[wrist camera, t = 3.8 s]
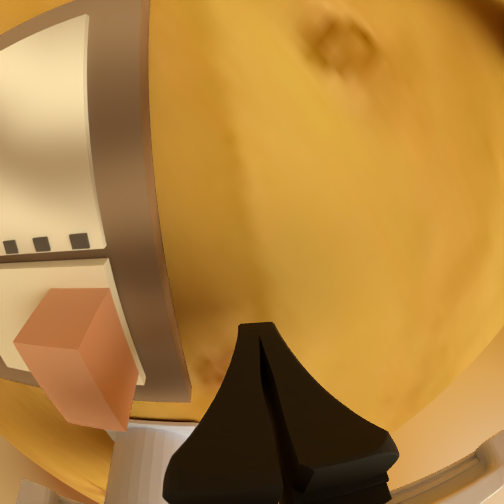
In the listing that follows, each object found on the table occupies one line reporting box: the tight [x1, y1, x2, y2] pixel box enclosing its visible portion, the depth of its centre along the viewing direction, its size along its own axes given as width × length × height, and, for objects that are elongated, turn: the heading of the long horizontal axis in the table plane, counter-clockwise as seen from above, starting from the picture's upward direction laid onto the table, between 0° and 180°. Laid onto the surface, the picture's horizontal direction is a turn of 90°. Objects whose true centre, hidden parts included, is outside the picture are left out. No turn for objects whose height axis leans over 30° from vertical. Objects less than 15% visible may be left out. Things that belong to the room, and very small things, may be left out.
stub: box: [0, 258, 146, 432], centre depth 10 cm, size 7×10×4 cm
